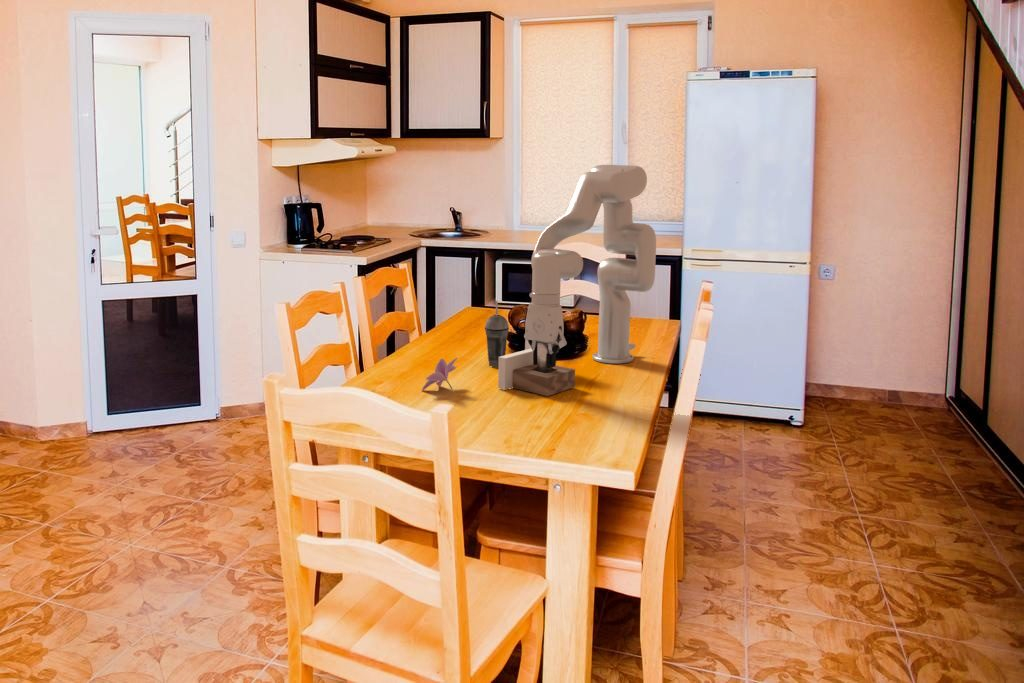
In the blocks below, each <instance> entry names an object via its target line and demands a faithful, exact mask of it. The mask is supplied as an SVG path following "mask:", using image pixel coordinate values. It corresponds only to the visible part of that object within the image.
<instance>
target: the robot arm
mask: <svg viewBox="0 0 1024 683" xmlns="http://www.w3.org/2000/svg"><path fill="white" fill-rule="evenodd" d="M647 182H648V175H647V173H646V171H645V169H644V168H643V167H641V166H639V165H625V164H600V165H595V166H593V167H592V168H591V169H590V170H589V171H587V172H584V173H583V174H581V176H580V177H579V179H578V181H577V183H576V186H575V188H574V191H573V193H572V196H571V198H570V200H569V203H568V205H567V208H566V210H565V212H564V214H563V215H562V216H560V217H559V218H557V219H556V220H554V222H551V224H549V225H548V226H547V227H546V228H545V229H544V230H543V231H542V232H541V234H540V236H539V237H538V239H537V242H536V244H535V246H534V250H533V252H532V255H531V260H530V261H531V262H530V264H531V269H532V276H531V278H532V280H531V292H530V293H529V295H528V296H529V298H531V302H529V304H528V306H527V313H526V317H527V318H526V317H525V318H526V319H525V326H526V330H525V333H524V335H523V337H524V340H525V339H526V340H527V341H528V342H529V344H530V346H531V349H532V350H533V365H537V341H538V342H544V343H548V350H549V353H548V354H547V368H552V367H555V366H556V364H557V353H559V351H560V350H561V348H563V347H565V346H566V345H567V343H568V342H567V341H566V338H565V336H564V333H565V332H564V330H565V327H564V325H565V324H564V314H563V307H562V305H561V279H573V278H576V277H577V276H579V275H580V274H581V273H582V271H583V269H584V259H583V257H582V255H581V254H579V252H577V251H573V250H568V249H560V248H558V249H557V248H555V247H556V246H558V244H559V243H561V242H563V241H564V240H566V239H568V238H570V237H574V236H577V235H579V234H582V233H584V232H587V231H589V230H590V229H591V228H592V227H593V226H594V224H595V221H596V220H597V216H598V214H599V212H600V208H601V206H602V207H603V233H602V234H603V237H602V239H603V247H604V249H605V250H606V251H607V252H609V253H611V254H617V255H618V254H619V255H626V256H627V255H628V256H635V259H633V258H623V257H608V258H604V259H603V260H601V261H600V263H599V265H597V272H596V273H597V281H598V289H599V310H598V335H597V336H598V339H597V343H598V344H597V351H596V352H594V353H593V354H592V359H593V360H594V361H596V362H599V363H603V364H627V363H632V362H633V361H634V355H633V354H632V353H630V351H631V350H634V349H636V344H635V343H634V342H632V343H630V332H631V331H630V329H631V326H630V325H631V309H632V307H631V306H632V304H631V300H630V297H629V295H628V293H627V291H631V292H638V293H646V292H649V291H651V289H652V288H653V286H654V283H655V276H656V262H657V261H656V260H657V259H656V258H657V257H656V256H657V235H656V232H655V230H654V228H653V227H652V226H651V225H650V224H646V223H640V222H639V223H638V222H633V204H632V201H631V200H633V199H635V198H636V197H638V196H640V195H642V193H643V192H644V191H645V189H646V187H647Z"/></svg>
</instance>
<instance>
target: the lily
mask: <svg viewBox="0 0 1024 683" xmlns="http://www.w3.org/2000/svg"><path fill="white" fill-rule="evenodd" d="M457 359H458V357H456V358H454V359H452V360H451V361H449V362H448V363H447V362H446V360H445V359H444V358H440V359H439V360H438V362H437V363H436V366H435V368H434V372H433V373H431V374H430V375H429V376H427V377H426V378H425V380H426V381H427V382H426V383H425V384H424V385H423V387H422V389H421V392H423V391H424V390H426V389H427V388H428V387H429V386H430V387H431V385H434V384H435V383H436V386H438V387H439V388H441V385H442V384H443V383H444V382H447V383H448V386H449V388H450V390H451V392H452V393H453V394H455V391H454V389H453V388H452V386H451V383H450V382H449V380H448V379H449V378H448V377H449V373H451V372H452V371H454V370H456V369H457V366H455V365H454V364H455V362H456V361H457Z"/></svg>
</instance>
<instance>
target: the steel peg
mask: <svg viewBox="0 0 1024 683" xmlns="http://www.w3.org/2000/svg"><path fill="white" fill-rule="evenodd" d="M548 353H549V350H548V343H544V342H538V341H537V372H542V373H549V372H551V371H552V368H547V354H548Z"/></svg>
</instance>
